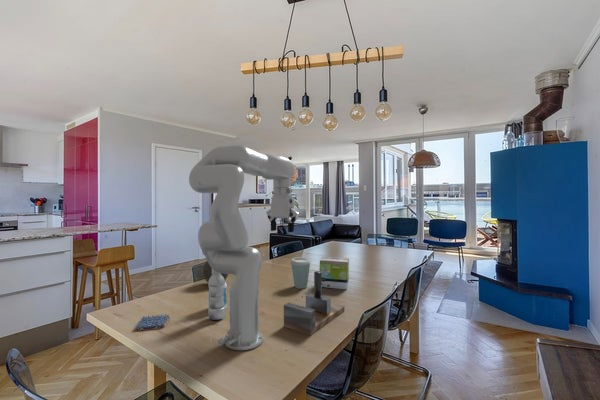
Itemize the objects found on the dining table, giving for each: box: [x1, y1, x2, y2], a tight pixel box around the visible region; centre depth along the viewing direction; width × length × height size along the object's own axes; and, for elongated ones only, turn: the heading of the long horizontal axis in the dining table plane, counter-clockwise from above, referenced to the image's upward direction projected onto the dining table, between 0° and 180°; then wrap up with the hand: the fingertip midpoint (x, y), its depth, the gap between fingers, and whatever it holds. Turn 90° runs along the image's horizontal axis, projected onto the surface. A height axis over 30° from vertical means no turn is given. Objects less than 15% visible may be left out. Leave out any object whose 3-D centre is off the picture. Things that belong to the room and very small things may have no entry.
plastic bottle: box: [207, 269, 226, 321], centre depth 113 cm, size 6×7×20 cm
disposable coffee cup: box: [290, 257, 311, 289], centre depth 153 cm, size 11×11×15 cm
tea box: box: [319, 256, 350, 290], centre depth 154 cm, size 15×10×15 cm, turn 76°
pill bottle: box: [208, 277, 228, 310], centre depth 123 cm, size 8×7×14 cm
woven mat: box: [135, 313, 171, 332], centre depth 108 cm, size 10×11×2 cm
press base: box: [283, 302, 345, 336], centre depth 113 cm, size 26×12×8 cm, turn 145°
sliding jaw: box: [305, 270, 332, 315], centre depth 114 cm, size 3×10×16 cm, turn 55°
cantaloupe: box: [202, 260, 229, 283], centre depth 158 cm, size 14×14×15 cm
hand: (282, 231), depth 124 cm, fingers open, 9 cm apart
